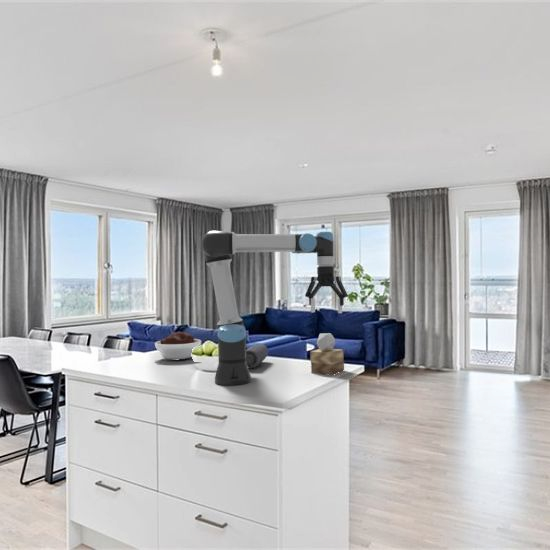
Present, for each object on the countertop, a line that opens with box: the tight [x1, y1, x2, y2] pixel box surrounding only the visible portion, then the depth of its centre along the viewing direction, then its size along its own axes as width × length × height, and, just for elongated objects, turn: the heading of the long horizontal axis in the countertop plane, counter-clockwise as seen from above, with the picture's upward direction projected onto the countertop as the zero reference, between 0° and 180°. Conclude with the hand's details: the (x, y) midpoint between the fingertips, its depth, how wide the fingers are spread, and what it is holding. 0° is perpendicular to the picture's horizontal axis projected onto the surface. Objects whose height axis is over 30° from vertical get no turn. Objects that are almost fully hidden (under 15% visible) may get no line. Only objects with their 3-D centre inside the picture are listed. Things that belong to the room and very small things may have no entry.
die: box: [316, 332, 337, 351], centre depth 221 cm, size 8×9×10 cm
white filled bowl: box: [154, 331, 202, 360], centre depth 266 cm, size 25×25×15 cm
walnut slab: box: [310, 360, 345, 376], centre depth 221 cm, size 11×11×5 cm
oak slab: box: [309, 348, 344, 365], centre depth 221 cm, size 11×11×5 cm
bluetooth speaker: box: [246, 343, 269, 369], centre depth 240 cm, size 23×9×10 cm, turn 168°
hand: (326, 312), depth 221 cm, fingers open, 13 cm apart
